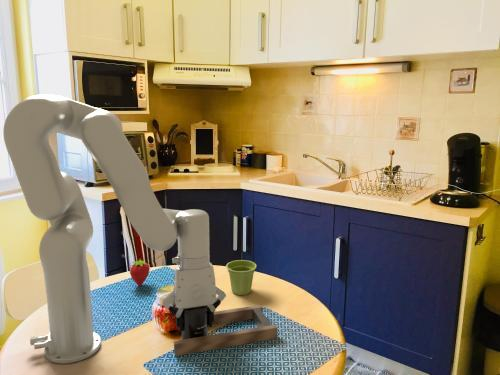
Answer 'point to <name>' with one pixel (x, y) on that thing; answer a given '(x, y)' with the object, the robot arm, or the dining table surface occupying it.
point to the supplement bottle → (195, 322)
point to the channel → (230, 338)
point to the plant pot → (241, 276)
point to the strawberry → (139, 272)
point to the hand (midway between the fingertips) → (195, 326)
